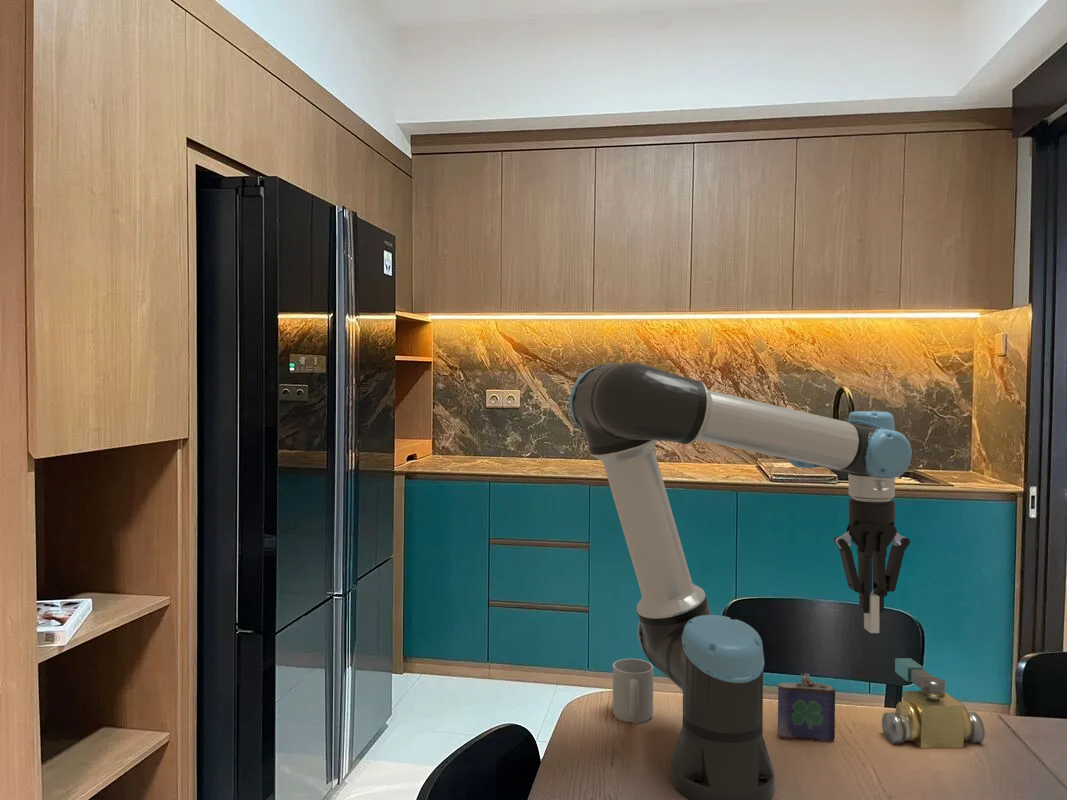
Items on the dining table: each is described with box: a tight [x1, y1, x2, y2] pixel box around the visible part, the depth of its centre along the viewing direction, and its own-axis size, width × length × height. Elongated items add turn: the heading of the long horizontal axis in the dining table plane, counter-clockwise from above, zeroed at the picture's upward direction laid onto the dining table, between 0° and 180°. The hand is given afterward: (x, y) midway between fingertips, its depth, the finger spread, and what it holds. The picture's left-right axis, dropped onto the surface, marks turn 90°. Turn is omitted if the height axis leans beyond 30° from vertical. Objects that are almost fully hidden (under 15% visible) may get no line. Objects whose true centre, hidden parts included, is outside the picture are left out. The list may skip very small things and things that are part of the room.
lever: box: [894, 657, 946, 698], centre depth 131 cm, size 12×4×2 cm, turn 1°
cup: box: [612, 658, 654, 724], centre depth 136 cm, size 7×10×9 cm
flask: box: [777, 672, 836, 744], centre depth 128 cm, size 9×3×11 cm, turn 80°
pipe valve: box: [881, 690, 986, 749], centre depth 127 cm, size 15×6×8 cm, turn 91°
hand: (871, 630), depth 135 cm, fingers closed
